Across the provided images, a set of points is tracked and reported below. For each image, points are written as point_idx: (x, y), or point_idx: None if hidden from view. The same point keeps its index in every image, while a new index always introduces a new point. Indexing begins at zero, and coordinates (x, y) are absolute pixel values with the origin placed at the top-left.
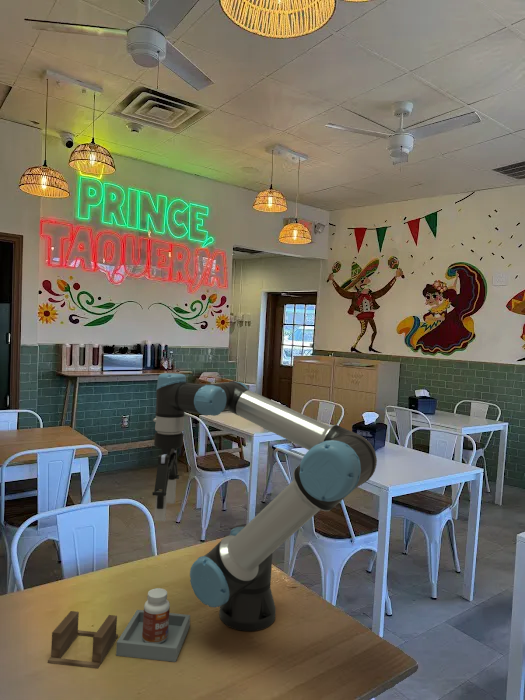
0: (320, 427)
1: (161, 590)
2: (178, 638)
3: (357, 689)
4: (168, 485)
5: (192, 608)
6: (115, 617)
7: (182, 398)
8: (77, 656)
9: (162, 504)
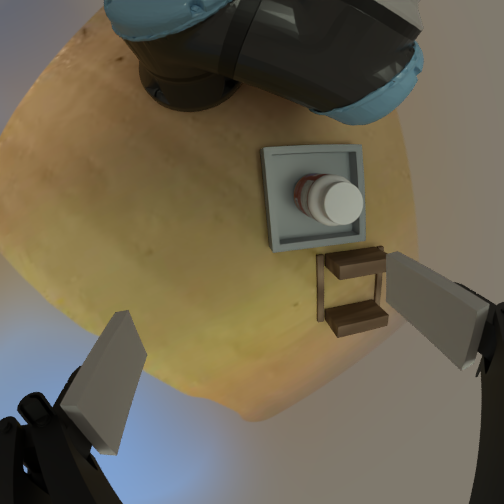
0: None
1: (334, 198)
2: (337, 147)
3: None
4: (116, 414)
5: (197, 165)
6: (344, 266)
7: None
8: (364, 283)
9: (472, 291)
